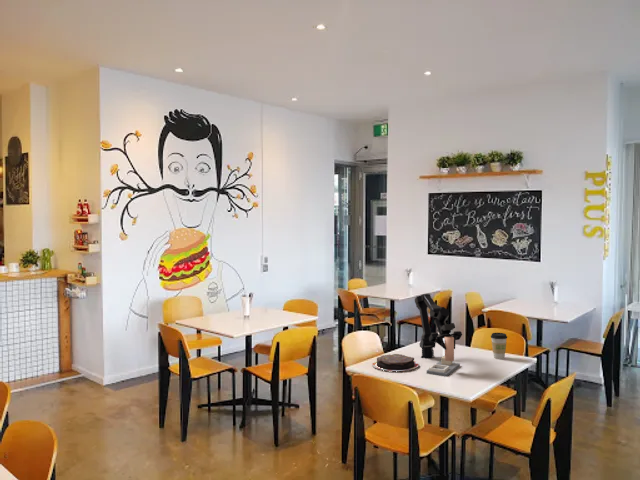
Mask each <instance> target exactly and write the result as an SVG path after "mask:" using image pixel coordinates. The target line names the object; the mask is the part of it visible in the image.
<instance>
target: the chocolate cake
mask: <svg viewBox="0 0 640 480" xmlns="http://www.w3.org/2000/svg"><path fill="white" fill-rule="evenodd" d="M376 363H377V366H378V367H380V368H378V367H376V366H375V364H376ZM419 365H420V364H419V362H417V361H415V357H413V356H412V357H411V356H408V355H405V354H399V353H393V354H383V355H381V356H378V357H377V358H376V360H374V361H373V362H372V363H371V366H372V367H373V368H374V367H375V368H374V369H377V370H379V371H381V370H384V371H383V372H386V371H393V372H392V373H404V372H403V371H405V372H411V371H414V370H416V369H417V368H418V367H419ZM381 368H383V369H381ZM396 371H397V372H396ZM399 371H401V372H399Z"/></svg>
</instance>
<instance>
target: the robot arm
mask: <svg viewBox="0 0 640 480" xmlns="http://www.w3.org/2000/svg"><path fill="white" fill-rule="evenodd" d="M414 303H415V306H416V308H417V310H418V311H419V315H420V321H421V326H422V334H421V337H420V338H421V340H420V342H419V347H420V348H421V356H420V358H424V359H433V358H434V357H435V353H434V352H435V350H434V349H435V347H436V344H438V345H439V346H440V347H442V349H443V350H444V351H445V350H446V346H445V340H444V339H445V338H444V337H447V336H450V337H454V350H456V341H459V340H461V338H462V336H463V332H462V330H461V331H460V330H455V331H453V330H454V329H456V325H455V322H451V323H450V324H449V323H446V321H447V320H448V318H449V316H450V311H449V309H447V308H445V306H440V305H439V304H438V305H437V304H436V302H435V300H433V298H432V296H431V294H430V293H423V294H421V295H418V296H416V297H415V298H414ZM428 309H429V313H428ZM429 315H430V316H431V317H430V318H434V321H433V324H434V325H435V326H436V332H432V331H431V326H430V320H429ZM452 331H453V333H452Z"/></svg>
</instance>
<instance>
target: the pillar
mask: <svg viewBox="0 0 640 480" xmlns="http://www.w3.org/2000/svg"><path fill="white" fill-rule="evenodd" d="M443 339H444V344H445V346H446V350H445V349H444V356H445V360H446V361H452V362H453V361H455V349H454V337H450V336H447V337H444V338H443Z"/></svg>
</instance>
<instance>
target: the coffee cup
mask: <svg viewBox="0 0 640 480" xmlns="http://www.w3.org/2000/svg"><path fill="white" fill-rule="evenodd" d="M490 338H491V346H492V347H491V348H492V353H493V358H494V360H495V359H496V360H505V356H506V350H507V339H508V336H507V333H505V332H491V335H490Z"/></svg>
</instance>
